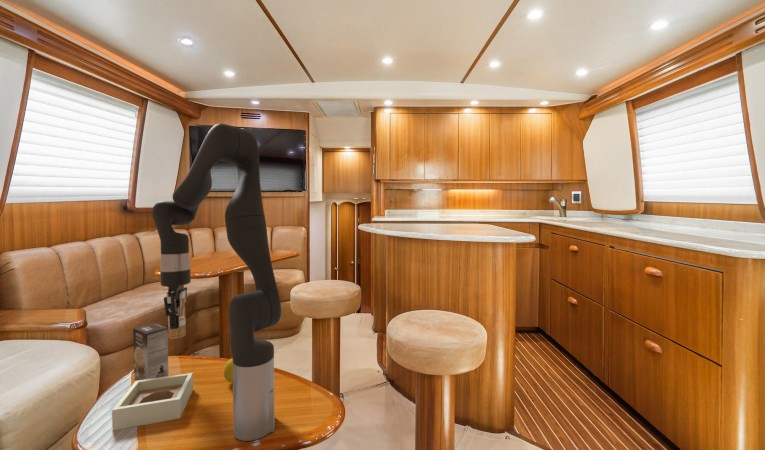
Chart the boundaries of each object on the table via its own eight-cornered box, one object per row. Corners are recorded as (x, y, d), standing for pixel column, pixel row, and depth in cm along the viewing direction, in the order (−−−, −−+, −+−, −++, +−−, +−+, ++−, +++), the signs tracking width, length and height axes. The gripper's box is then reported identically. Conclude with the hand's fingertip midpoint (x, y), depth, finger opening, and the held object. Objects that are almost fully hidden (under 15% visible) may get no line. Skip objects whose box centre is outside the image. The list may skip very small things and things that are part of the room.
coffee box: (133, 377, 100) (131, 327, 99) (155, 369, 105) (155, 321, 105) (146, 386, 95) (145, 333, 94) (170, 376, 100) (169, 327, 100)
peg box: (193, 389, 93) (192, 372, 93) (180, 418, 80) (179, 399, 80) (136, 398, 89) (135, 380, 88) (112, 430, 75) (112, 410, 75)
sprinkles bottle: (186, 337, 93) (185, 292, 93) (167, 340, 91) (166, 294, 91) (186, 332, 97) (185, 289, 97) (168, 335, 95) (167, 291, 95)
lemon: (247, 381, 98) (247, 356, 98) (230, 389, 93) (230, 363, 93) (236, 376, 101) (236, 351, 100) (220, 384, 96) (219, 358, 96)
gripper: (183, 271, 88) (184, 332, 88) (195, 264, 102) (197, 317, 102) (151, 273, 86) (153, 335, 86) (168, 265, 99) (170, 319, 100)
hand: (177, 325), depth 94 cm, fingers closed on sprinkles bottle, 4 cm apart
